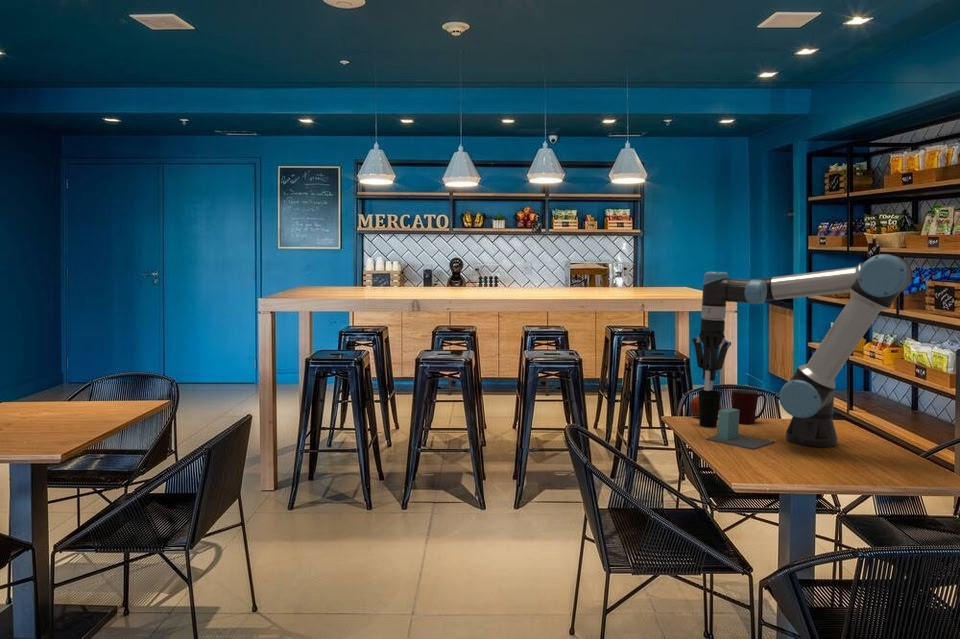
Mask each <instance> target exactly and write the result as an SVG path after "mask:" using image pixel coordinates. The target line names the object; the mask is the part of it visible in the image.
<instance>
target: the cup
mask: <svg viewBox="0 0 960 639" xmlns="http://www.w3.org/2000/svg"><path fill="white" fill-rule="evenodd" d="M697 391H698V393H697V396H698V397H699V426H700V427H703V428H712V429H714V428H717V427H718V412H719V405H721V398H722V397H721V396H722V392H721V391H718V390H715V389H714V390H713V389H712V390H710V391H706V390H704V389H700V390H697Z"/></svg>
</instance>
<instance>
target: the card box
mask: <svg viewBox="0 0 960 639" xmlns="http://www.w3.org/2000/svg"><path fill="white" fill-rule="evenodd" d="M739 411H740V410H738V409H733V408H732V407H727V408H724V409H721V410H719V413H718V419H717V434H716V435H717V438H719V439H724V440H730V439H733V438H737V437H738V434H739V428H740V425H739Z"/></svg>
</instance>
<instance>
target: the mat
mask: <svg viewBox="0 0 960 639" xmlns="http://www.w3.org/2000/svg"><path fill="white" fill-rule="evenodd" d="M705 440H707V441H712V442H716V443H721V444H724V445H731V446H734V447H735V446H736V447H740V448H744V449H750V450H752V451H753V450H757V449H760V448H763V447H765V446H768V445H772V444H775V441H774V440H769V439H764V438H760V437H755V436H750V435H743V434H739V433H738V437H737V438H733V439H730V440H724V439H719V438H717V434H716V435H713V436H710V437H709V436H708V437H706V438H705Z"/></svg>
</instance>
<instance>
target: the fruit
mask: <svg viewBox="0 0 960 639" xmlns="http://www.w3.org/2000/svg"><path fill="white" fill-rule="evenodd" d="M721 406H722V405H721V404H720V405H719V410H722V407H721ZM690 411H691V412H692V414H694V416H696V417H699V397H698V395H697V396H695V397H693V398H692V399H691V402H690ZM718 413H719V412H718Z"/></svg>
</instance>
